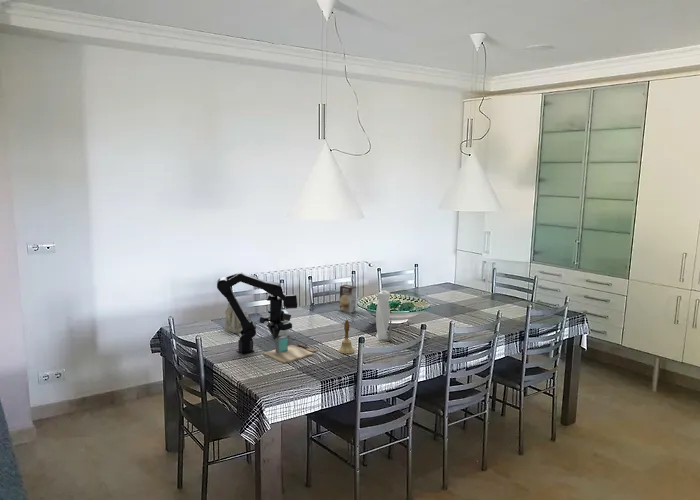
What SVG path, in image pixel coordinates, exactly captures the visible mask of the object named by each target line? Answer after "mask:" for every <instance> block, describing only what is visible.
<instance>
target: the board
mask: <svg viewBox="0 0 700 500" xmlns="http://www.w3.org/2000/svg"><path fill="white" fill-rule="evenodd" d="M275 351H276V348H275V349H273V350H269V351H265V352H263V355H264V356H266V357H268V358H271V359H273V360H275V361H278V362H280V363H282V364H287V363H291V362H294V361H297V360H300V359H304V358H307V357H310V356H313V355H314V352H310V351H308V350H306V349H305V348H301V347H300V346H299V347H298V346H296V345H294V344H290V345H289V344H288V350H287V351H284V352H281V353H276V352H275Z"/></svg>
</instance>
